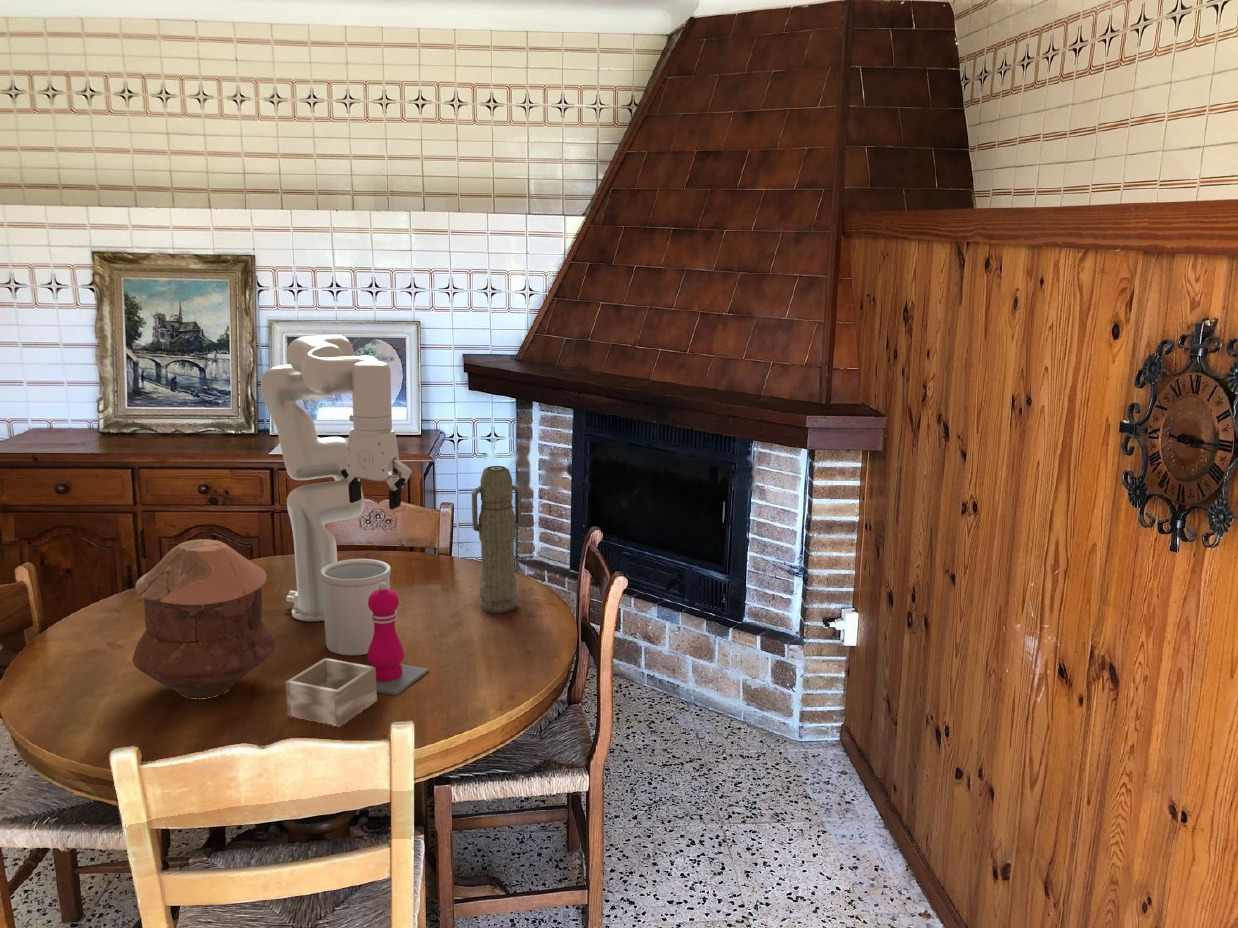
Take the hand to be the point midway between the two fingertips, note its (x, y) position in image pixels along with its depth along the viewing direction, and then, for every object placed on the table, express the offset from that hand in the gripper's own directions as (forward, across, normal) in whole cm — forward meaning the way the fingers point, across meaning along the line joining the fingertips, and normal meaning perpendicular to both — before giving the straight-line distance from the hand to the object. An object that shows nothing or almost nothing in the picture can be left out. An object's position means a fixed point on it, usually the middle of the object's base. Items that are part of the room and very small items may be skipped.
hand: (375, 504), depth 195 cm
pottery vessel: (+35, -22, -26) cm, 48 cm away
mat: (+34, +8, -8) cm, 36 cm away
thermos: (+35, +9, +37) cm, 52 cm away
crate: (+34, +6, -23) cm, 41 cm away
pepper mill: (+33, +7, -8) cm, 35 cm away
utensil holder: (+35, -8, +5) cm, 36 cm away
